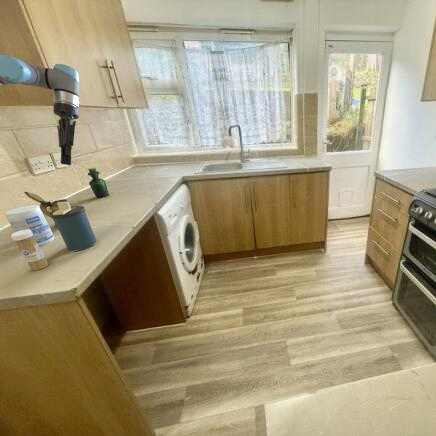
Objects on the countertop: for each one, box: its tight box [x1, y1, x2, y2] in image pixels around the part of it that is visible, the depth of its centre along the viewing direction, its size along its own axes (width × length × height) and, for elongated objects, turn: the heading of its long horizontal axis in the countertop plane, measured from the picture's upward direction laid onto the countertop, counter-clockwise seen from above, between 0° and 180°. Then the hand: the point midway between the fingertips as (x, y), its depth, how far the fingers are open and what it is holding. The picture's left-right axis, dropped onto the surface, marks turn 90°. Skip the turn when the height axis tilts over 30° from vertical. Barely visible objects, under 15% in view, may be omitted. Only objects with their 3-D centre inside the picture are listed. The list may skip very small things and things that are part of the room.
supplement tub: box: [4, 205, 55, 247], centre depth 96 cm, size 10×10×15 cm
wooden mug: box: [23, 191, 72, 227], centre depth 112 cm, size 9×14×18 cm, turn 126°
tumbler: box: [51, 205, 97, 253], centre depth 93 cm, size 10×10×15 cm
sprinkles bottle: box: [10, 230, 50, 271], centre depth 80 cm, size 5×5×13 cm
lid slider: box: [53, 201, 72, 215], centre depth 86 cm, size 4×3×3 cm
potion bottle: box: [87, 167, 110, 199], centre depth 150 cm, size 8×8×18 cm
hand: (65, 164), depth 98 cm, fingers closed
